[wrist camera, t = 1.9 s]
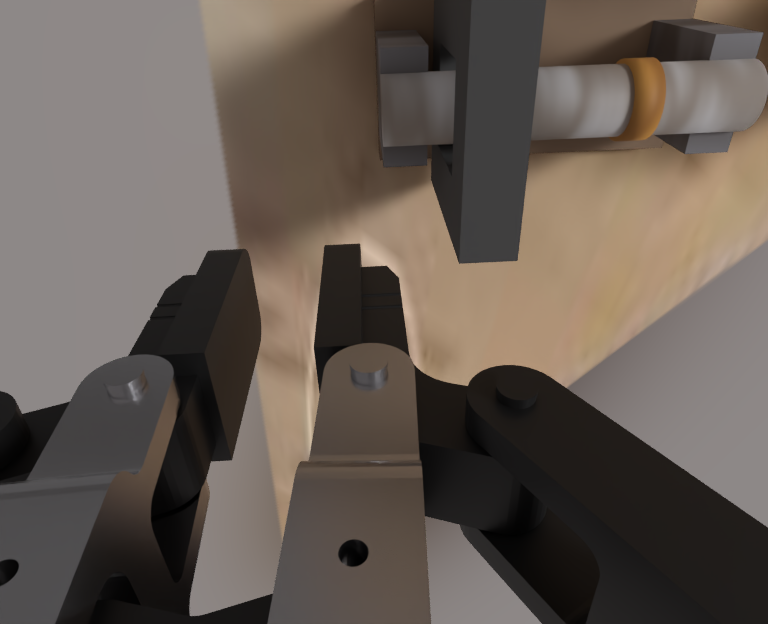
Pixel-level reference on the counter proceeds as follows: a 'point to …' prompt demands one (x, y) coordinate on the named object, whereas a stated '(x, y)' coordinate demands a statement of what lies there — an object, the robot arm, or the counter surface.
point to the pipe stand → (583, 79)
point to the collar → (487, 121)
